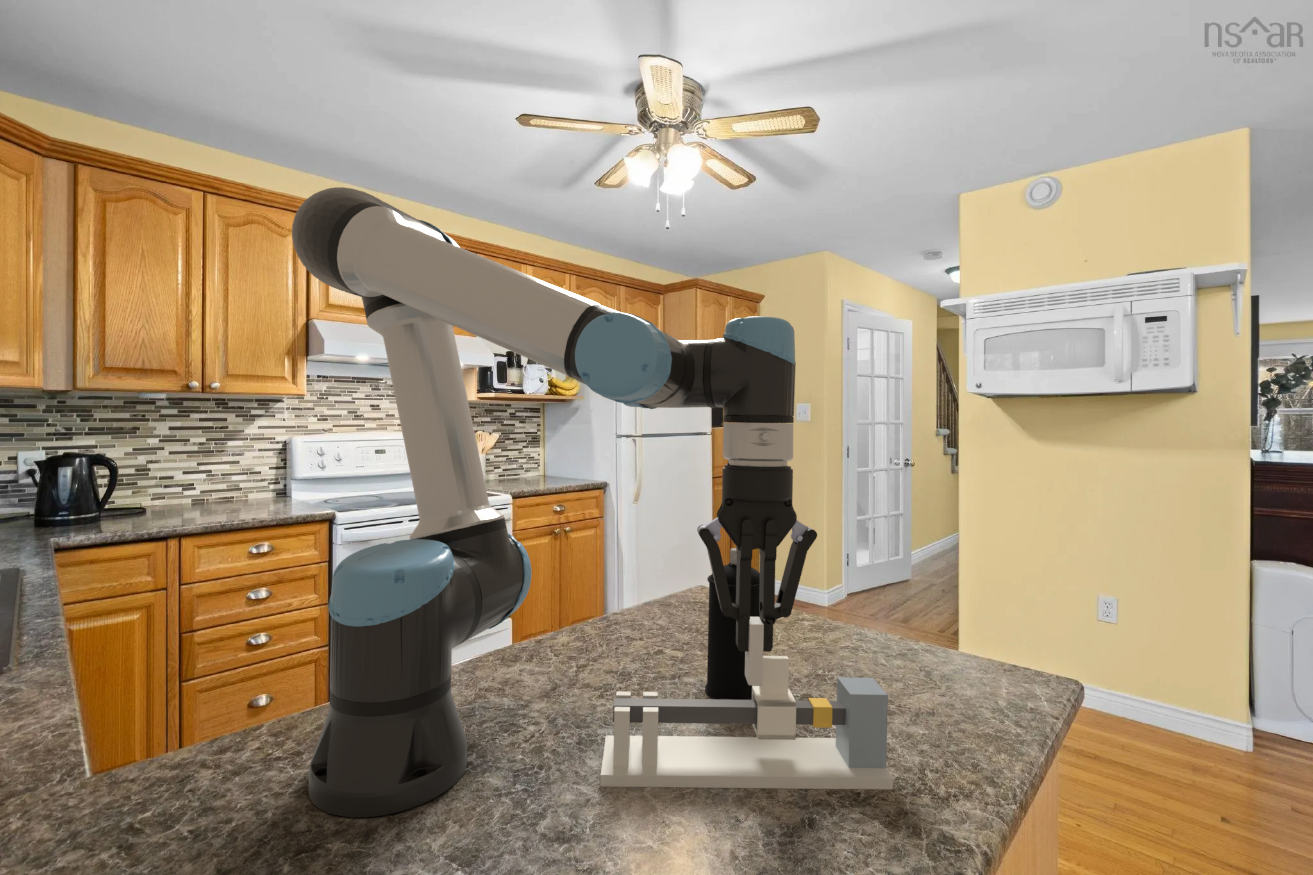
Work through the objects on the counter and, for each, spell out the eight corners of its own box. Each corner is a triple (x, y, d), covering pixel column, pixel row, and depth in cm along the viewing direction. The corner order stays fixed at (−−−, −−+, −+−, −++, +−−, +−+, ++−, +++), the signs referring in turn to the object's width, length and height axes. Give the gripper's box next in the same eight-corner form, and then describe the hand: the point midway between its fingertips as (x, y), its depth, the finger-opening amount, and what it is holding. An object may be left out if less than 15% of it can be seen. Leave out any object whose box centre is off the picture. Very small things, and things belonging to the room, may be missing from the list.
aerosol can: (763, 707, 80) (766, 557, 80) (701, 701, 82) (704, 553, 82) (764, 682, 89) (768, 545, 88) (708, 677, 90) (711, 542, 90)
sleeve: (757, 739, 64) (759, 663, 64) (751, 721, 68) (752, 650, 68) (795, 739, 64) (797, 664, 64) (786, 721, 68) (788, 650, 68)
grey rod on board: (600, 786, 62) (602, 698, 62) (605, 745, 70) (607, 667, 70) (892, 789, 63) (894, 702, 62) (864, 748, 71) (866, 671, 70)
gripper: (700, 464, 62) (696, 694, 62) (827, 466, 62) (823, 695, 62) (694, 460, 70) (691, 666, 70) (808, 462, 70) (804, 667, 70)
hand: (753, 679), depth 66 cm, fingers closed
